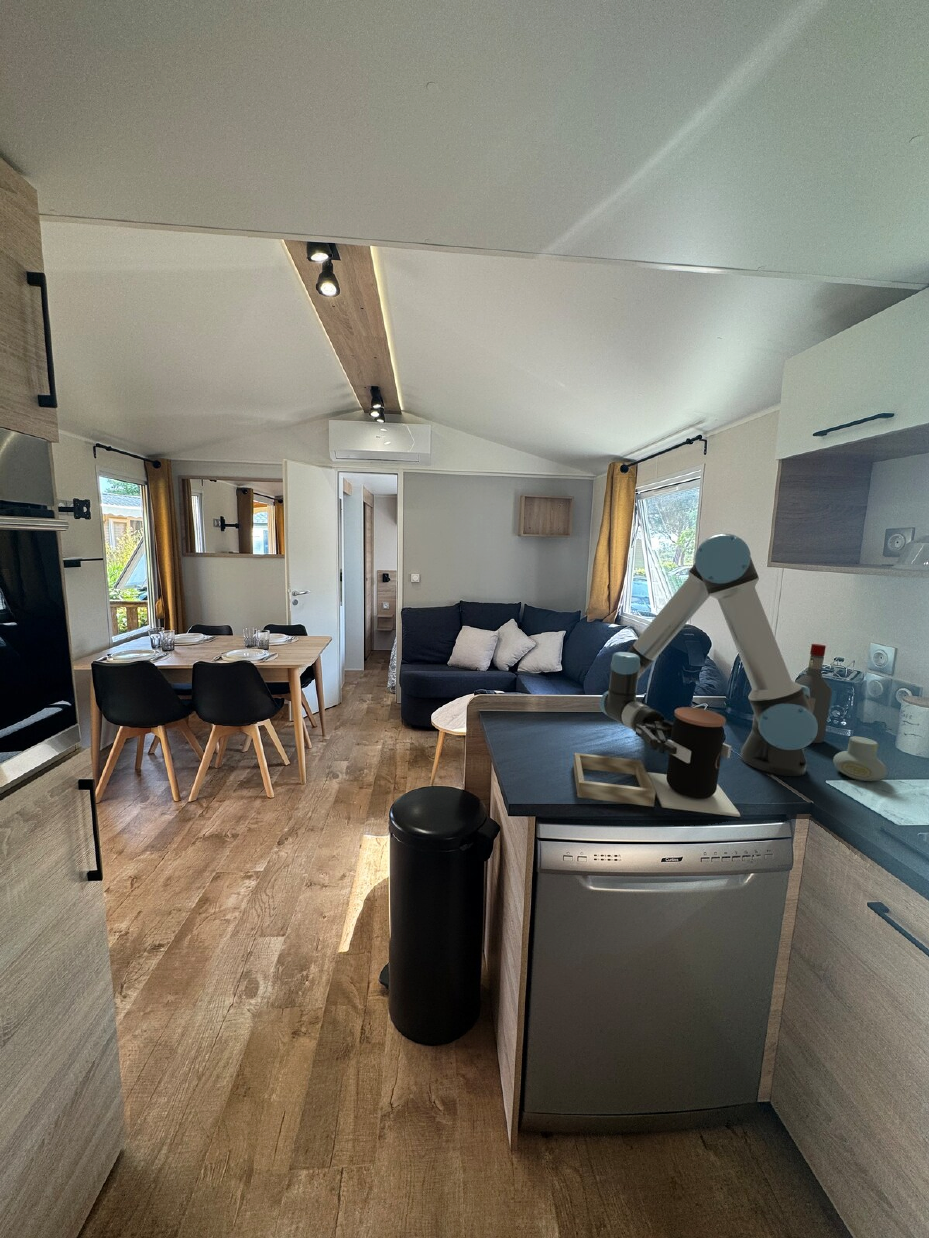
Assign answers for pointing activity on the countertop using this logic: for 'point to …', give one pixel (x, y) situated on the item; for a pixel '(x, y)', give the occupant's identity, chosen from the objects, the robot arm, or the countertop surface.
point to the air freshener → (860, 760)
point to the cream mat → (677, 801)
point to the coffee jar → (696, 752)
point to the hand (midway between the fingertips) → (709, 754)
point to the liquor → (817, 690)
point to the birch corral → (613, 791)
